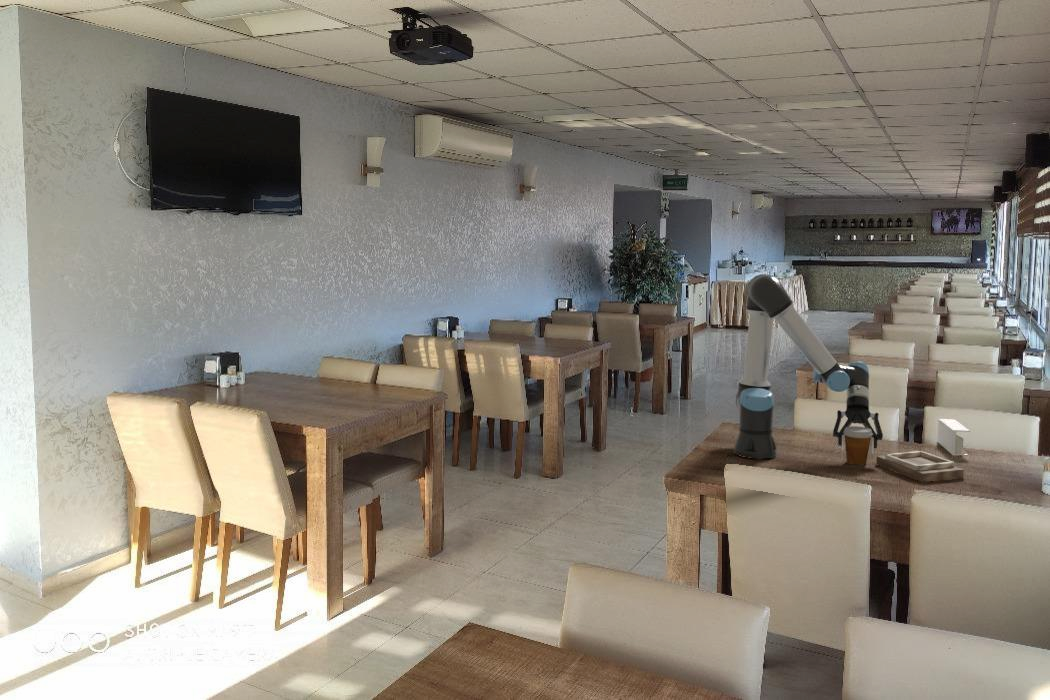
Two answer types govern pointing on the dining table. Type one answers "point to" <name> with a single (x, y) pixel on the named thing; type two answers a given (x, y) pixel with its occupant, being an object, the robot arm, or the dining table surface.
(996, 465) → the dining table surface
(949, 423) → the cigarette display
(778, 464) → the dining table surface
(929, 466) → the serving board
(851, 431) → the disposable coffee cup
